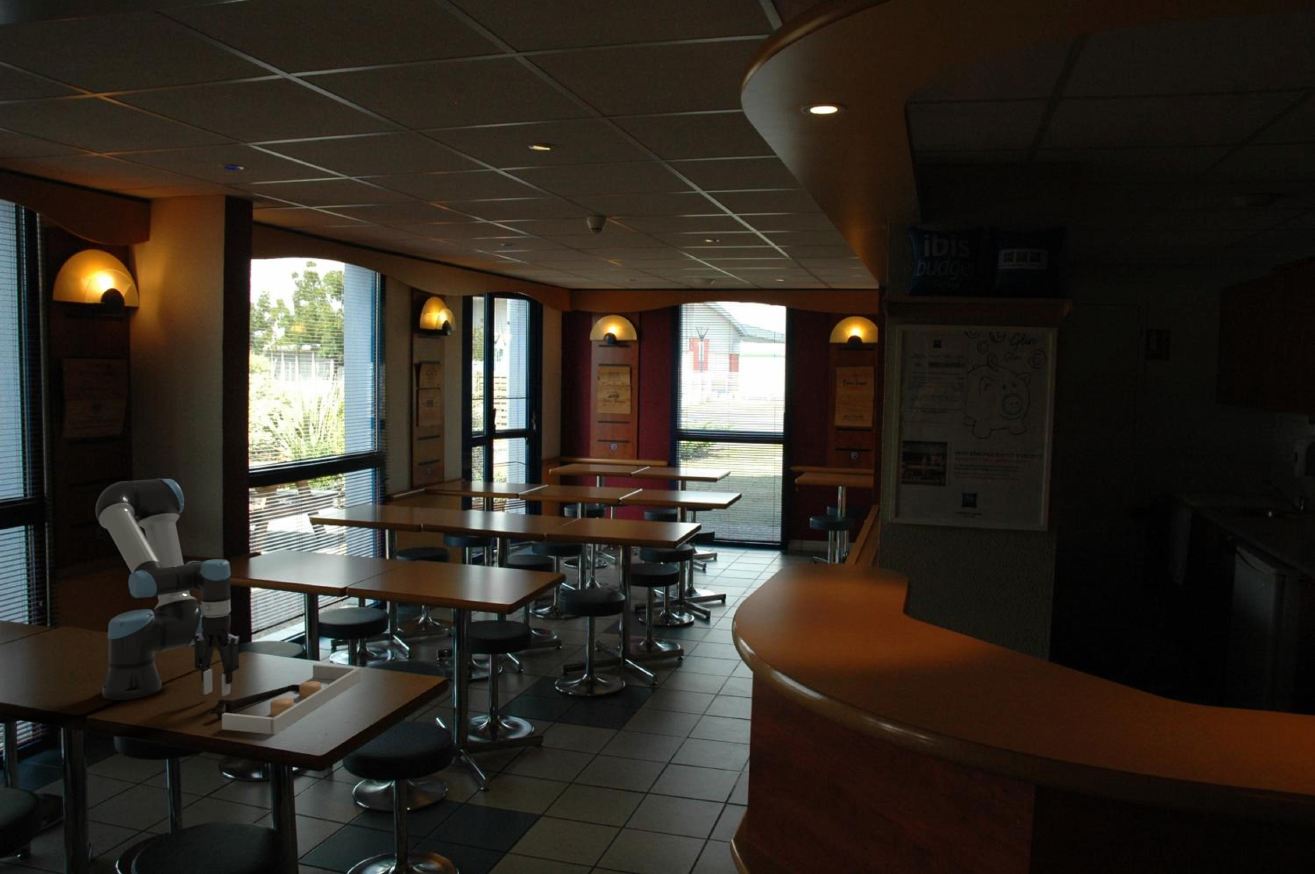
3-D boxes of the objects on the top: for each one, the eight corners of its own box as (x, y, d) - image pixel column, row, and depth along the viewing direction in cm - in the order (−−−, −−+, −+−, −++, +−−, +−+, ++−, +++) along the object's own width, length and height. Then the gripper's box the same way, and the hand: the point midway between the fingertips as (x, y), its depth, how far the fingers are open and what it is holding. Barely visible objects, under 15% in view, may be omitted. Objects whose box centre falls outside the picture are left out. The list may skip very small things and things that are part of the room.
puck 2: (295, 696, 265) (295, 685, 265) (313, 691, 270) (313, 679, 270) (307, 701, 262) (307, 689, 262) (325, 695, 267) (325, 684, 267)
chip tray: (222, 729, 240) (221, 714, 240) (315, 676, 283) (315, 664, 283) (274, 734, 237) (274, 719, 237) (360, 680, 280) (360, 667, 280)
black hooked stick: (306, 697, 271) (220, 723, 243) (294, 695, 273) (207, 721, 246) (306, 679, 271) (221, 704, 244) (294, 678, 273) (207, 702, 246)
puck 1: (265, 716, 250) (265, 704, 250) (281, 709, 256) (280, 697, 255) (283, 719, 248) (283, 706, 248) (298, 711, 254) (298, 699, 253)
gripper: (178, 615, 257) (180, 695, 258) (236, 619, 254) (236, 700, 255) (197, 608, 264) (198, 686, 266) (252, 613, 261) (253, 691, 262)
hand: (217, 693), depth 260 cm, fingers open, 5 cm apart
